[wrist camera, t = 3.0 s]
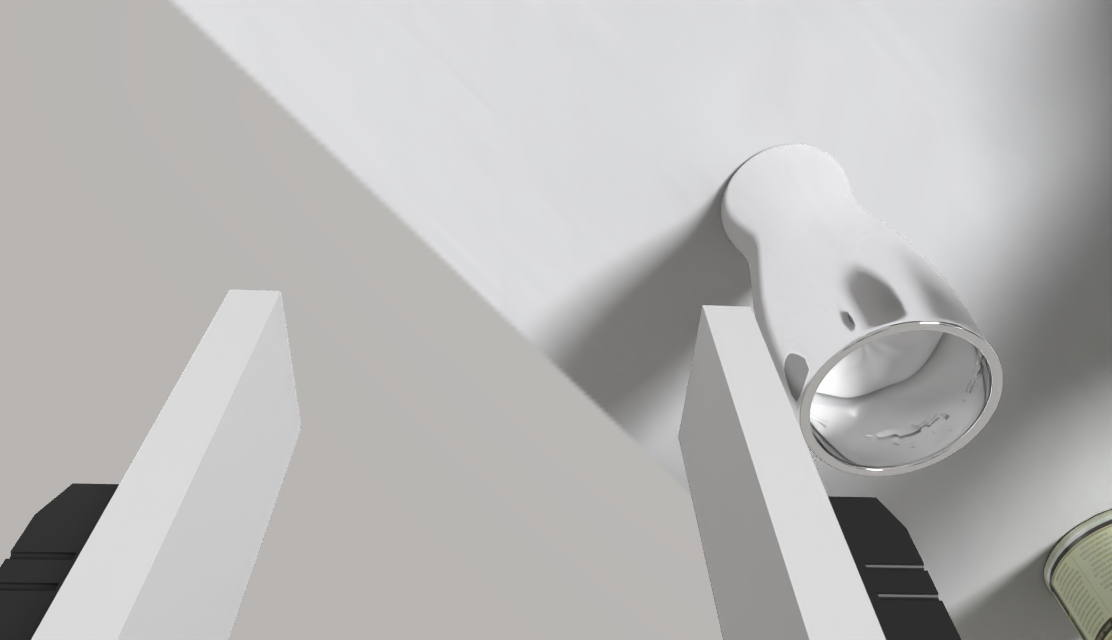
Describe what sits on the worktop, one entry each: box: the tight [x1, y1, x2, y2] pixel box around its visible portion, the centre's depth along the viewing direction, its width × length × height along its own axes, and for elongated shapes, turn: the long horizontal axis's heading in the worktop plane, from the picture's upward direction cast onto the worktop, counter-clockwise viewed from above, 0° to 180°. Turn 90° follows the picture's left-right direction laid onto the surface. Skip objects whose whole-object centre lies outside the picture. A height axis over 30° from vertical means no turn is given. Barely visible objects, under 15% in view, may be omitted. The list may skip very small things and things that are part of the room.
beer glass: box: [721, 144, 1003, 476], centre depth 33 cm, size 7×7×15 cm
